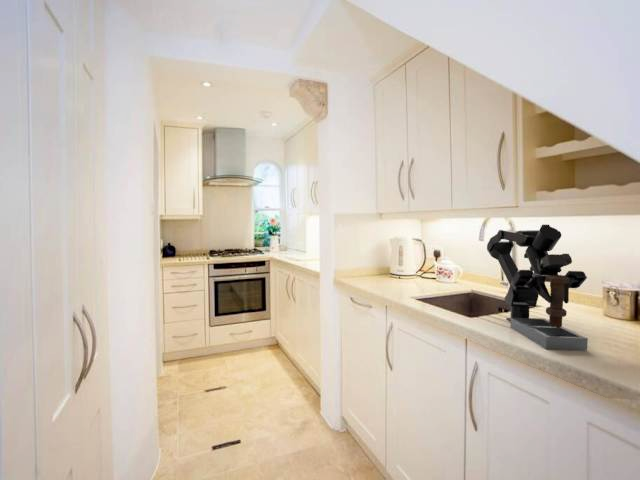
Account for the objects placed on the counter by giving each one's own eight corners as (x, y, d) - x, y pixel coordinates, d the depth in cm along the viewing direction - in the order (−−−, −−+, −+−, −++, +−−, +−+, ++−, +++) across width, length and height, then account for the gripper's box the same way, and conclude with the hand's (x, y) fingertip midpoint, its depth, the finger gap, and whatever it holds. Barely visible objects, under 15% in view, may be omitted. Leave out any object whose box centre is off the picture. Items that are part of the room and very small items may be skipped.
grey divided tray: (510, 327, 112) (510, 317, 112) (544, 328, 111) (544, 318, 111) (545, 349, 92) (546, 337, 92) (587, 350, 91) (587, 338, 91)
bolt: (567, 326, 97) (569, 276, 96) (567, 330, 93) (570, 278, 92) (543, 322, 100) (545, 274, 100) (543, 327, 96) (545, 276, 96)
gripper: (518, 243, 101) (535, 286, 90) (584, 244, 98) (609, 288, 88) (506, 265, 109) (520, 306, 98) (567, 267, 106) (588, 309, 96)
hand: (558, 302), depth 95 cm, fingers closed on bolt, 4 cm apart
